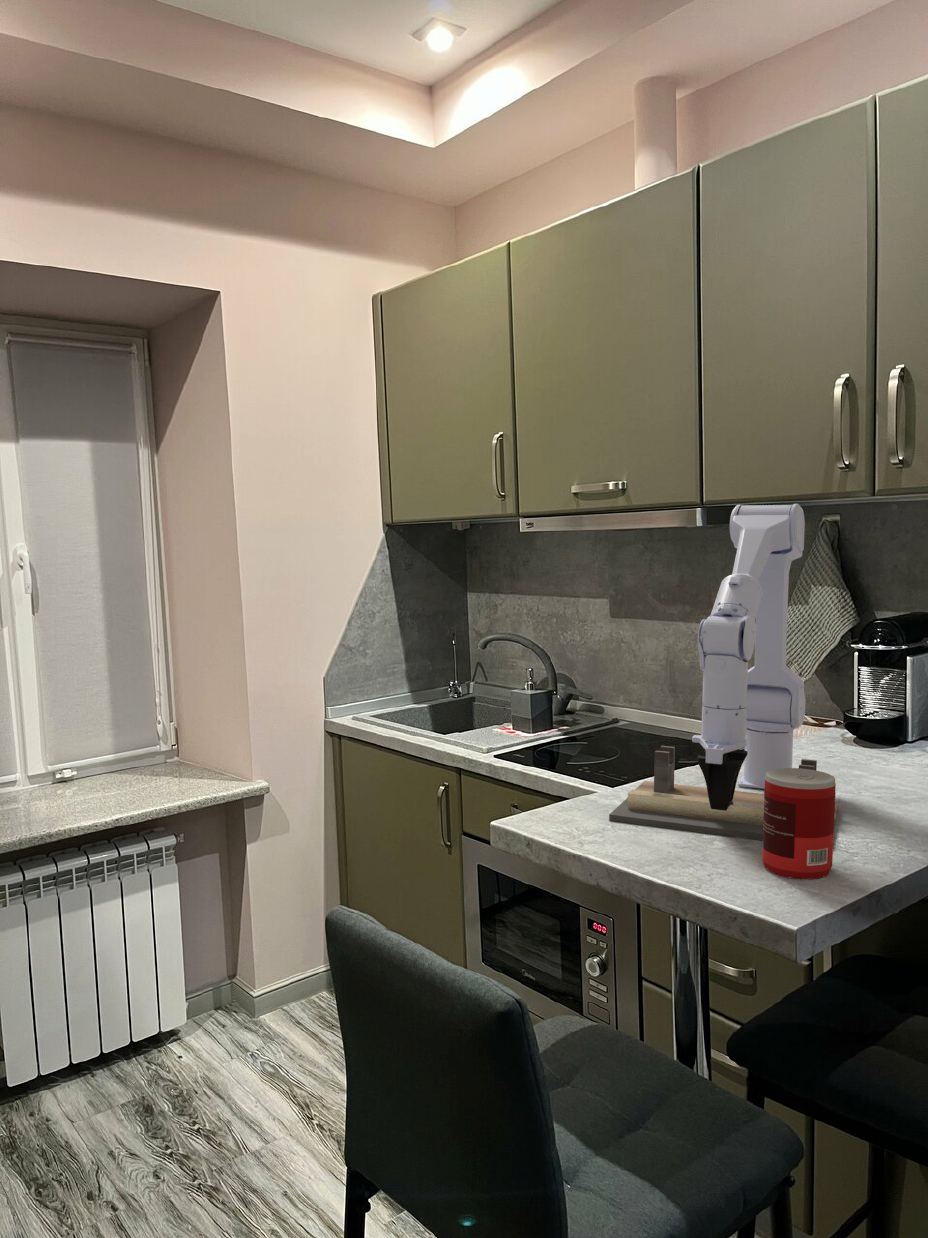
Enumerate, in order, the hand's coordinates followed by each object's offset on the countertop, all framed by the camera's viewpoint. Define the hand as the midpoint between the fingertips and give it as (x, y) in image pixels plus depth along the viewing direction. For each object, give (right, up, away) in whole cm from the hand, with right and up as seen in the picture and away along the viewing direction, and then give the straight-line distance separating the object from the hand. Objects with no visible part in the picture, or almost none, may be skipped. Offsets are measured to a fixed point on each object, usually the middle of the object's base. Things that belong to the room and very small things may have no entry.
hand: (721, 806), depth 128 cm
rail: (0, -2, 0) cm, 2 cm away
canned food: (+4, -4, -18) cm, 18 cm away
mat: (0, -2, 0) cm, 2 cm away
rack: (+4, -2, +10) cm, 11 cm away
